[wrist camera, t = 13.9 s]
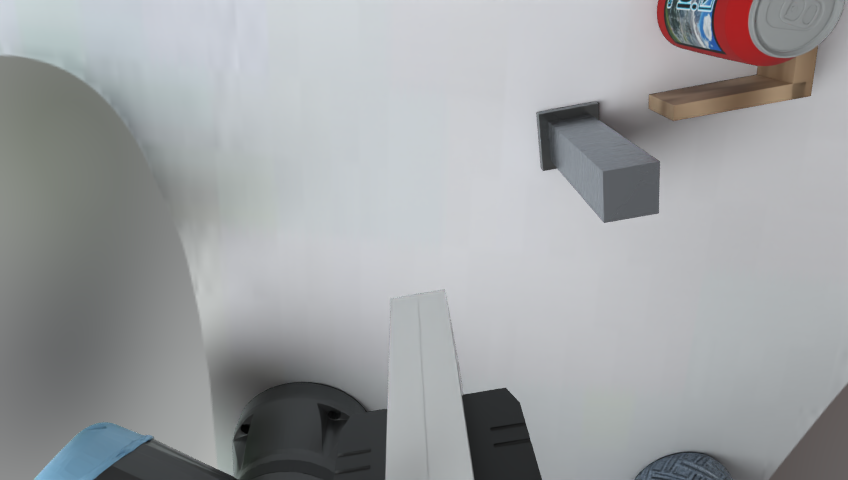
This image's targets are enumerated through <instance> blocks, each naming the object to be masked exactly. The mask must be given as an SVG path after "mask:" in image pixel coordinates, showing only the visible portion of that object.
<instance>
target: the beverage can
mask: <svg viewBox="0 0 848 480" xmlns="http://www.w3.org/2000/svg"><path fill="white" fill-rule="evenodd" d="M844 4H845V0H659V1H658V6H657V19H658V24H659V27H660V30H661V32H662V34H663V35H664V36H665V38H666V39H667V40H668V41H669V42H670V43H672V44H673V45H675V46H677V47H680V48H683V49H687V50H691V51H694V52H698V53H702V54H707V55H711V56H715V57H719V58H724V59H728V60H732V61H737V62H742V63H746V64H751V65H756V66H773V65H777V64H781V63H784V62H786V61H789V60H791V59H793V58H795V57H797V56H800V55H802V54H805V53H807V52H809V51H811V50H812V49H814V48H815V47H817V46H818V45H819V44H820V43H821V42H823V41H824V40H825V39H826V38H827V36H828V35H829V34H830V33H831V32H832V30H833V29H834V28H835V26H836V24H837V22H838V21H839V19H840V16H841V14H842V11H843V8H844Z"/></svg>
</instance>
